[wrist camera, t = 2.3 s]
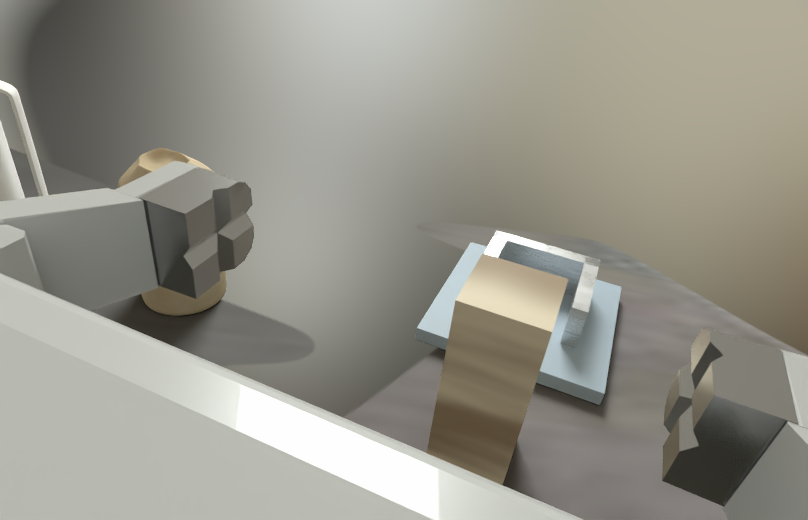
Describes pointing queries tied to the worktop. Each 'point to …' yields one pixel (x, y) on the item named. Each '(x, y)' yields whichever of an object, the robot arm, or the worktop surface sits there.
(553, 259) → the slot bracket
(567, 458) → the worktop surface
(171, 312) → the candle
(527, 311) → the beech post
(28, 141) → the white tall bottle shape
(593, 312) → the base plate
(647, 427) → the worktop surface
